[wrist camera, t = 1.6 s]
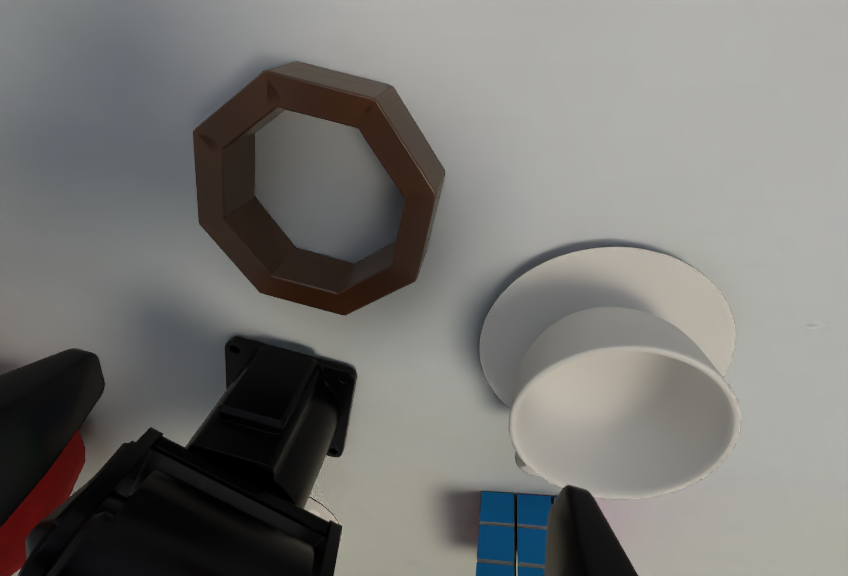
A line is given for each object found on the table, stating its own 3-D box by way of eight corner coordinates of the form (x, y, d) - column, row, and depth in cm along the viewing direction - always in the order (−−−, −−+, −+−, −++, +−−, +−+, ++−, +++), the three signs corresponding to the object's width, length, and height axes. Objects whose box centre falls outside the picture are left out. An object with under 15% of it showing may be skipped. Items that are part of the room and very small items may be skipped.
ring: (414, 299, 20) (404, 332, 18) (232, 250, 20) (201, 278, 18) (462, 103, 16) (454, 118, 14) (228, 42, 16) (187, 49, 14)
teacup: (595, 189, 17) (620, 249, 13) (789, 337, 18) (864, 430, 14) (435, 356, 22) (418, 435, 18) (599, 459, 23) (616, 552, 20)
